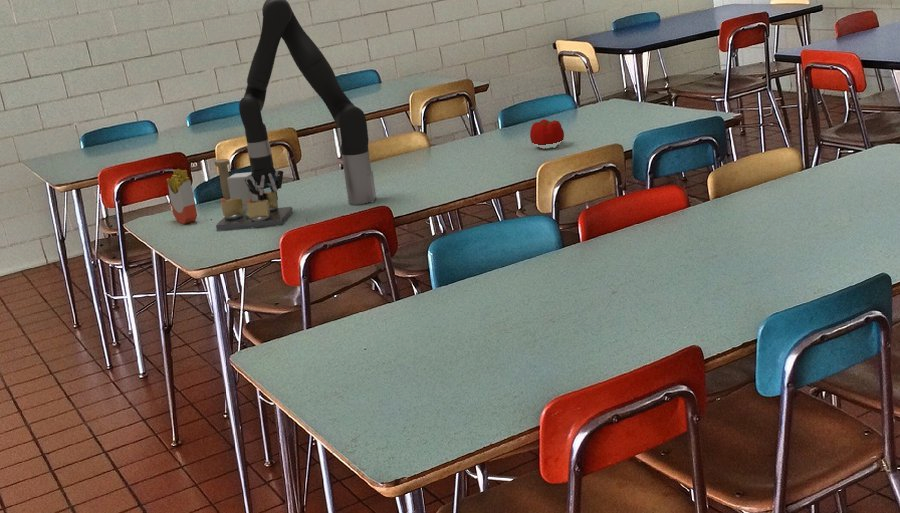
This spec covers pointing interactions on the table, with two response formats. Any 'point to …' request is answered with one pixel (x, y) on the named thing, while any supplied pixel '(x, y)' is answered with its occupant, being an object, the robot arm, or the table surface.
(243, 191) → the supplement box
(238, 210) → the knob
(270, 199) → the knob
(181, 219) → the french fries container
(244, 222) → the base plate
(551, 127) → the tomato
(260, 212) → the knob
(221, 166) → the handle
